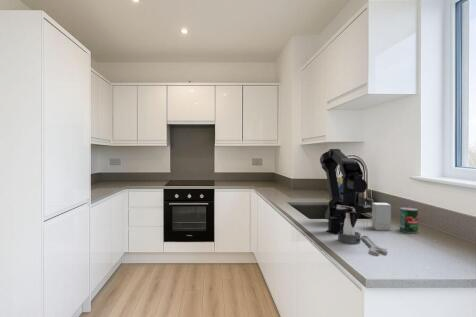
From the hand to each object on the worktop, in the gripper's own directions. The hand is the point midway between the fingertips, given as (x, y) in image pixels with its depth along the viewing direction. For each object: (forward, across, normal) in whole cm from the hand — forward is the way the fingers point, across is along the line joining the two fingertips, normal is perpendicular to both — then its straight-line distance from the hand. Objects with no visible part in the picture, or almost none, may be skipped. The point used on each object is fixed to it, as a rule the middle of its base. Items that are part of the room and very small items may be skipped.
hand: (349, 226), depth 133 cm
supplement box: (+7, +8, -33) cm, 34 cm away
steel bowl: (+6, 0, 0) cm, 6 cm away
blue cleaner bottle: (+7, +25, -22) cm, 34 cm away
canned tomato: (+7, -2, -40) cm, 41 cm away
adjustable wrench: (+7, -10, -3) cm, 13 cm away
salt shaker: (+6, 0, 0) cm, 6 cm away
